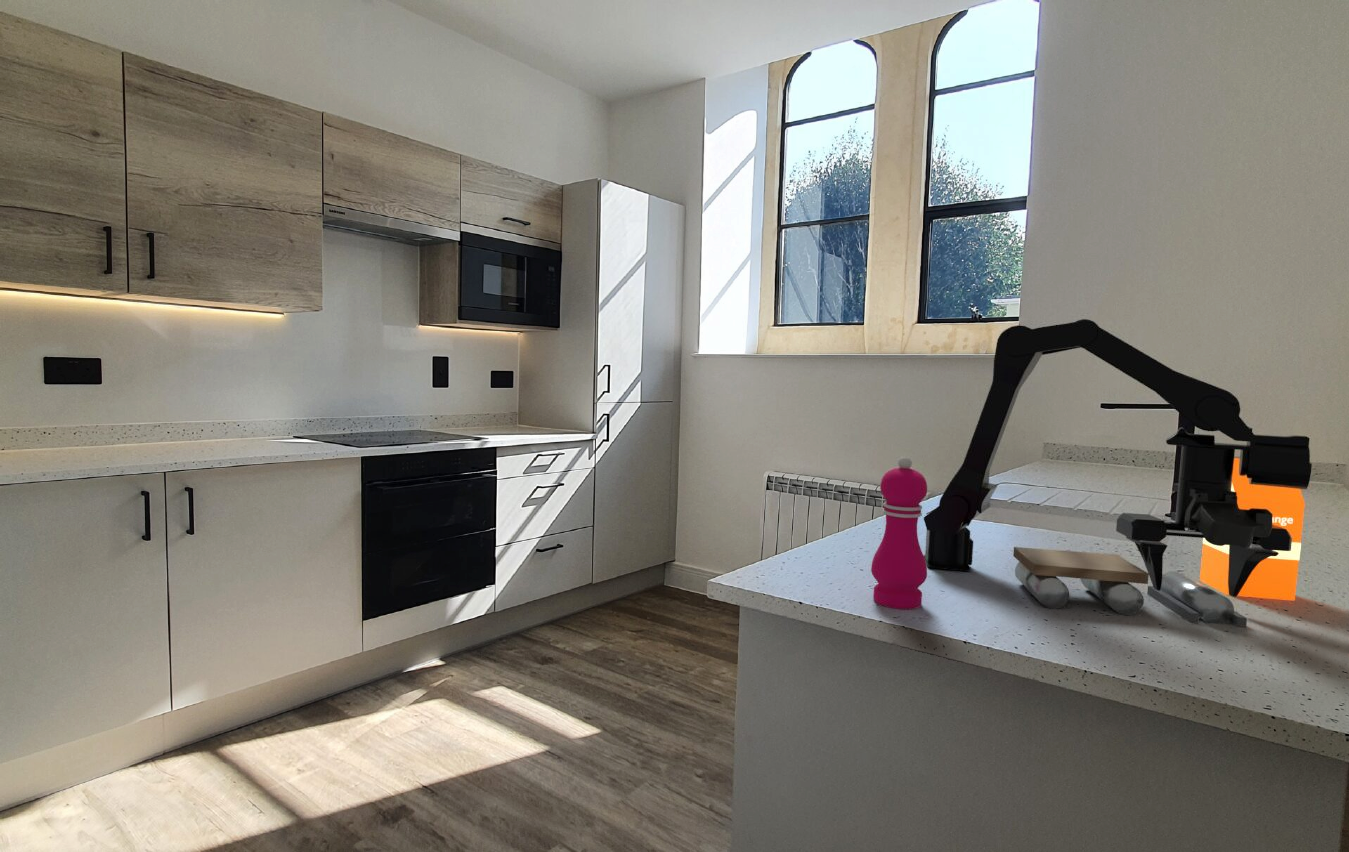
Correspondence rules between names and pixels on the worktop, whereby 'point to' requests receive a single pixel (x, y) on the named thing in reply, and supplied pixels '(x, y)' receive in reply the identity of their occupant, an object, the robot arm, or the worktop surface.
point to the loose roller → (1198, 597)
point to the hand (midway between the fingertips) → (1194, 592)
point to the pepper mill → (900, 540)
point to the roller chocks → (1185, 610)
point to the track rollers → (1111, 592)
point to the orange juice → (1278, 571)
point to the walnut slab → (1079, 565)
